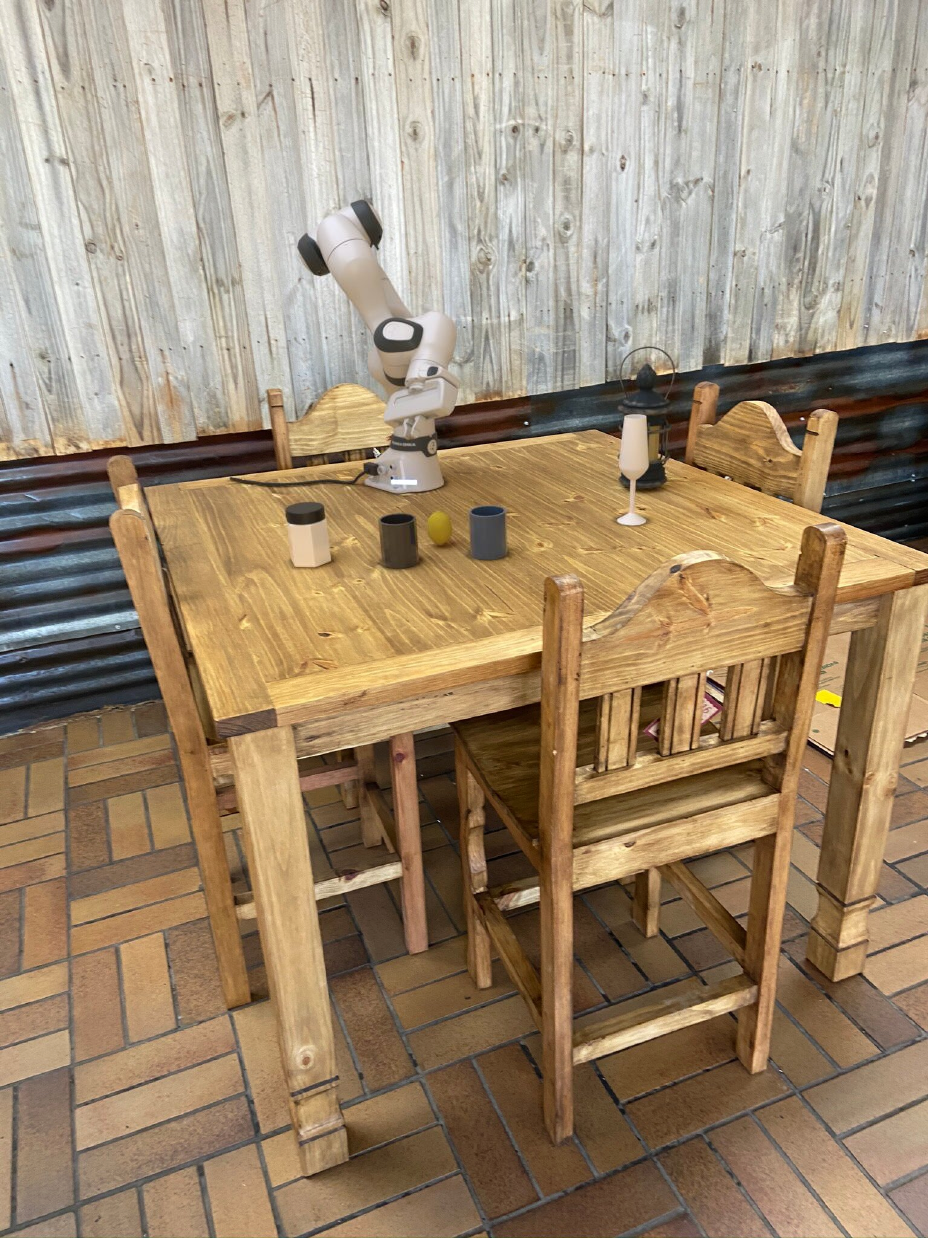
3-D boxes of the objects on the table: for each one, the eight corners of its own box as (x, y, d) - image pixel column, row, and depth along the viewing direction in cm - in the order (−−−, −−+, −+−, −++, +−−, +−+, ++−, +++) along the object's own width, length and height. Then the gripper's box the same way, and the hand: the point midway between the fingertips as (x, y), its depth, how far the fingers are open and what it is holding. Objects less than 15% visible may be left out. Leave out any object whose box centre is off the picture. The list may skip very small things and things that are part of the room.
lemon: (454, 541, 197) (452, 506, 194) (451, 549, 192) (449, 514, 189) (429, 541, 198) (427, 506, 195) (426, 549, 193) (423, 514, 190)
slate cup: (463, 555, 189) (461, 513, 185) (484, 545, 194) (483, 503, 190) (493, 562, 184) (492, 518, 180) (514, 551, 190) (513, 508, 186)
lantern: (606, 490, 228) (609, 349, 213) (626, 477, 238) (630, 342, 223) (659, 497, 220) (666, 351, 206) (678, 483, 231) (685, 344, 216)
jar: (314, 551, 196) (308, 498, 191) (339, 558, 191) (333, 504, 186) (282, 563, 189) (275, 509, 184) (307, 571, 184) (300, 515, 180)
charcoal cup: (374, 564, 186) (370, 521, 182) (398, 553, 192) (395, 511, 188) (402, 571, 182) (399, 527, 178) (426, 559, 188) (423, 516, 184)
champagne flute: (650, 517, 206) (654, 414, 196) (641, 526, 201) (645, 420, 191) (622, 514, 209) (625, 412, 199) (612, 523, 204) (615, 418, 194)
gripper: (385, 383, 202) (370, 437, 199) (446, 365, 188) (431, 424, 185) (405, 396, 206) (390, 450, 203) (466, 380, 192) (451, 437, 189)
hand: (410, 437), depth 194 cm, fingers closed
